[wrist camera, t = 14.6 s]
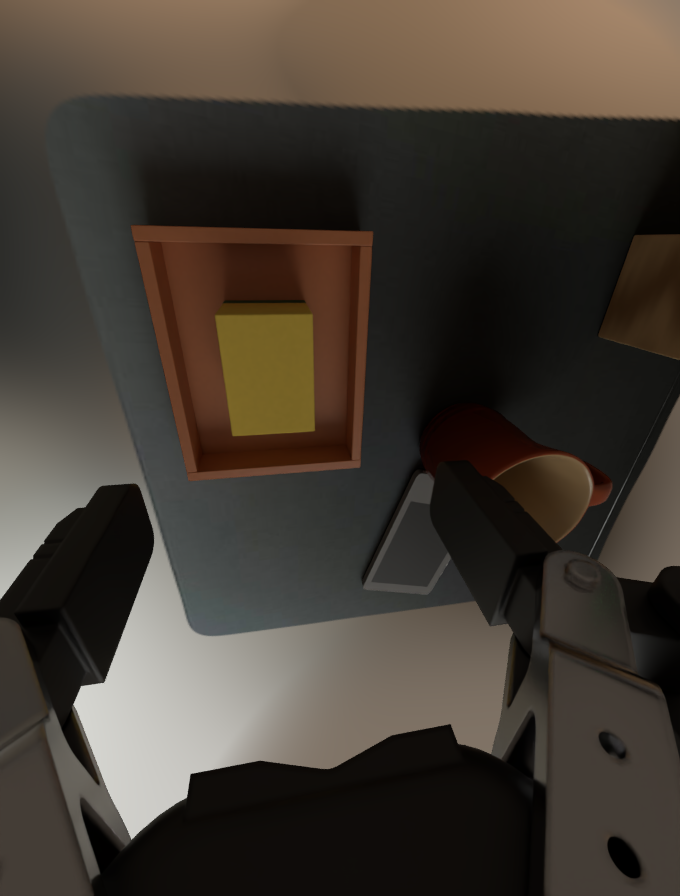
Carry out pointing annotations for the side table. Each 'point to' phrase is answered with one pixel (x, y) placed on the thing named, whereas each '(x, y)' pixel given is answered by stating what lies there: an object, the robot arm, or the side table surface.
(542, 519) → the mug
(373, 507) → the side table surface
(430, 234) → the side table surface
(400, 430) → the side table surface
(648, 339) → the tall wooden block
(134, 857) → the robot arm
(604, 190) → the side table surface
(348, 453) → the tray
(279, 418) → the sponge
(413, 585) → the smartphone
